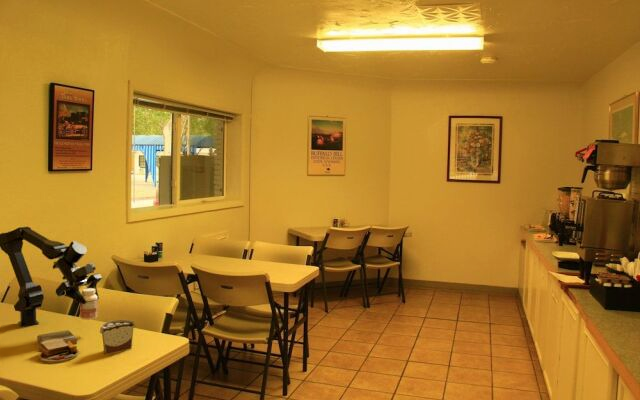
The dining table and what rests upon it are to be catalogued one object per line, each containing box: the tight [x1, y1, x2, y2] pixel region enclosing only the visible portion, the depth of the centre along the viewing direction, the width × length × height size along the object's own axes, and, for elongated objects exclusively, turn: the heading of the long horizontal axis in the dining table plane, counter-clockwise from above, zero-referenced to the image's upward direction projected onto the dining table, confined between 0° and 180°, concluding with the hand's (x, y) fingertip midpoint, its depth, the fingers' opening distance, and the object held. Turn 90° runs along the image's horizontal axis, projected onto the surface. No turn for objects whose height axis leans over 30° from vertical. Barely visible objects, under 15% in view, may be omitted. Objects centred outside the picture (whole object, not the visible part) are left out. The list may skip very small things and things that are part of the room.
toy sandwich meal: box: [38, 339, 80, 364], centre depth 181 cm, size 12×14×5 cm
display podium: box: [36, 329, 78, 347], centre depth 194 cm, size 11×11×2 cm
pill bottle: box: [79, 287, 99, 321], centre depth 203 cm, size 6×6×11 cm
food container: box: [99, 319, 136, 356], centre depth 188 cm, size 12×6×10 cm, turn 135°
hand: (91, 301), depth 202 cm, fingers closed on pill bottle, 6 cm apart
